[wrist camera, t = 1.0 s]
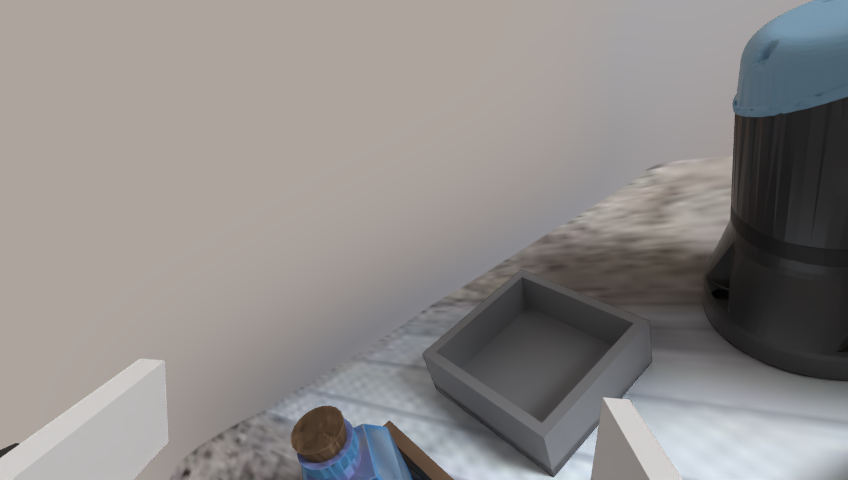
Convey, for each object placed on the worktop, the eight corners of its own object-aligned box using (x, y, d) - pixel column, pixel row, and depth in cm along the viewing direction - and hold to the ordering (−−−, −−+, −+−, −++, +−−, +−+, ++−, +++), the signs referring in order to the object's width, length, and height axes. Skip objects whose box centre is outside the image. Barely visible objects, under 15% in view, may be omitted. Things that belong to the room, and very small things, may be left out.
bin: (529, 304, 50) (521, 269, 47) (651, 361, 40) (649, 320, 38) (436, 389, 44) (422, 353, 42) (553, 477, 35) (544, 437, 33)
